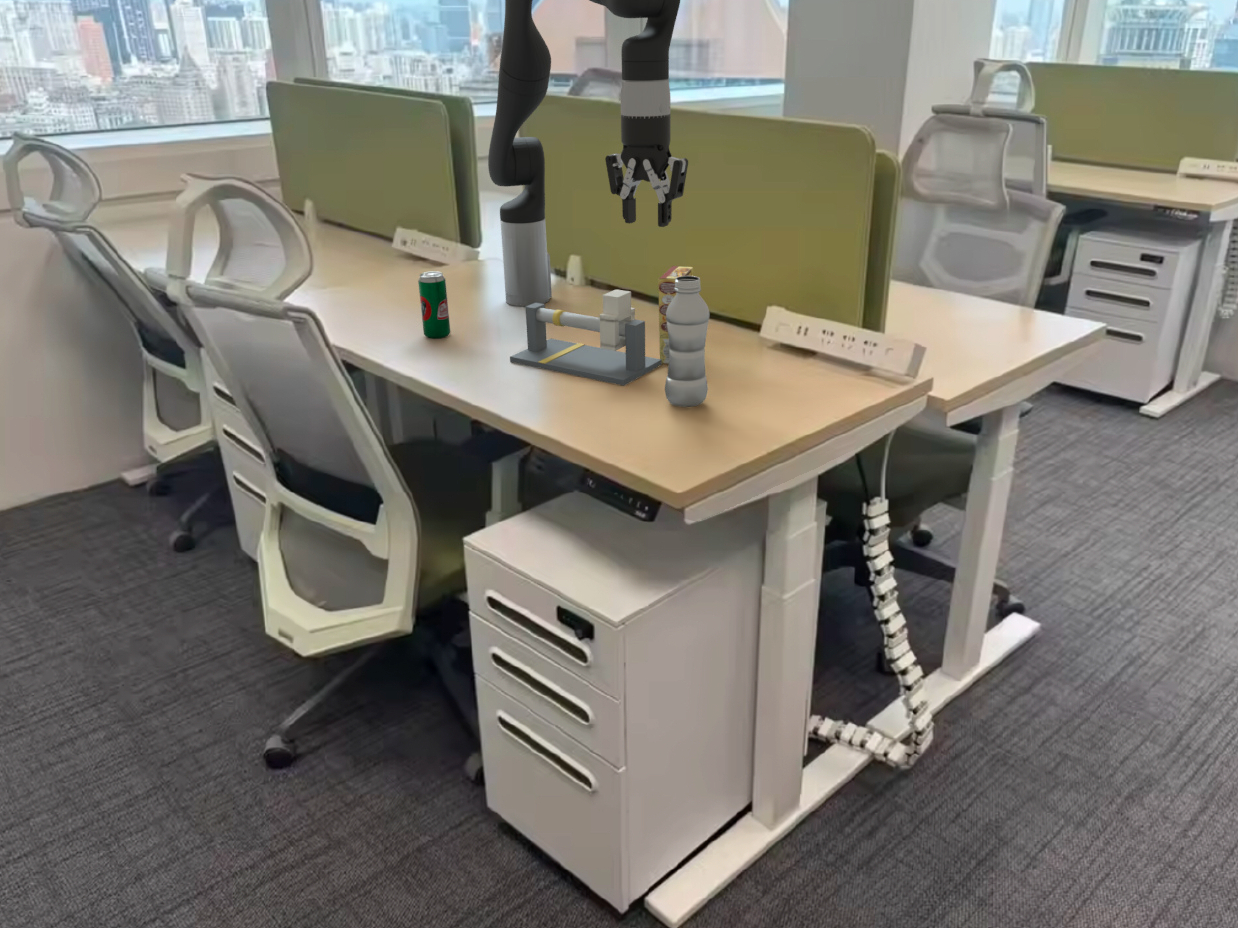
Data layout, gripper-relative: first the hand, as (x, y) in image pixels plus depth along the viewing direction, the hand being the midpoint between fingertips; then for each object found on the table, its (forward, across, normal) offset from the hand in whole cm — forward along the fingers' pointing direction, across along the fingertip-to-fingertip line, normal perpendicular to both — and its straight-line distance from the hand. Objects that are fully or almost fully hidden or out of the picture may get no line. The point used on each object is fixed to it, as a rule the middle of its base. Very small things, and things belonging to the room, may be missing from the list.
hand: (646, 223), depth 158 cm
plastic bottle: (+26, -12, +8) cm, 29 cm away
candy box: (+26, +1, -11) cm, 28 cm away
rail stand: (+25, +13, 0) cm, 29 cm away
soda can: (+26, +47, +1) cm, 54 cm away
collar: (+21, +6, 0) cm, 22 cm away
